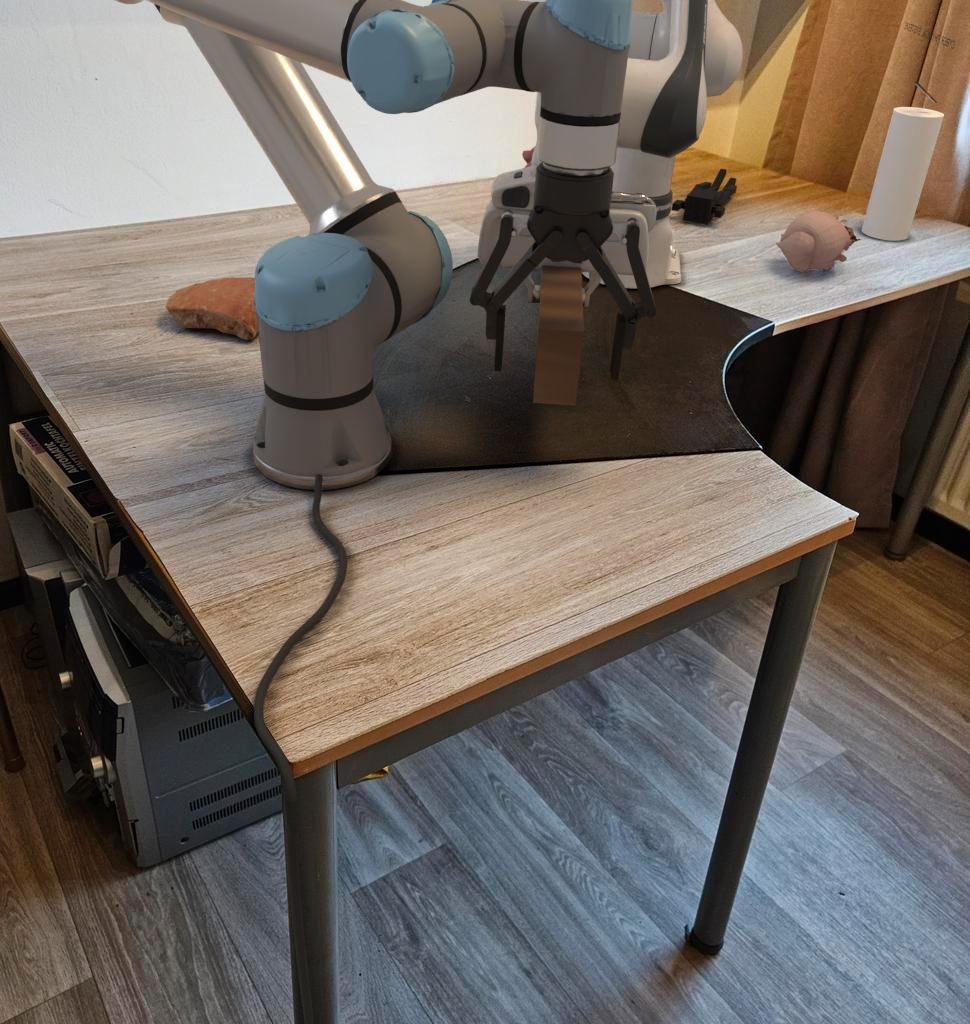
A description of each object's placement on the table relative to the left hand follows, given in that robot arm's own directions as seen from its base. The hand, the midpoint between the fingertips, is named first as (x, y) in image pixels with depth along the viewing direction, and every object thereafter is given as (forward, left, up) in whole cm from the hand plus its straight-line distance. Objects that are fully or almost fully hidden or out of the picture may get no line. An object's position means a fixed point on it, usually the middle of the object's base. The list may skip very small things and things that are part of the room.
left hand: (556, 370), depth 104 cm
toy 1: (+109, -4, -11) cm, 110 cm away
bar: (+8, +2, -2) cm, 9 cm away
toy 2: (+79, -24, -11) cm, 84 cm away
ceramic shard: (+19, +54, -11) cm, 58 cm away
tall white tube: (+106, -36, -11) cm, 113 cm away
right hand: (+16, +4, +1) cm, 17 cm away
